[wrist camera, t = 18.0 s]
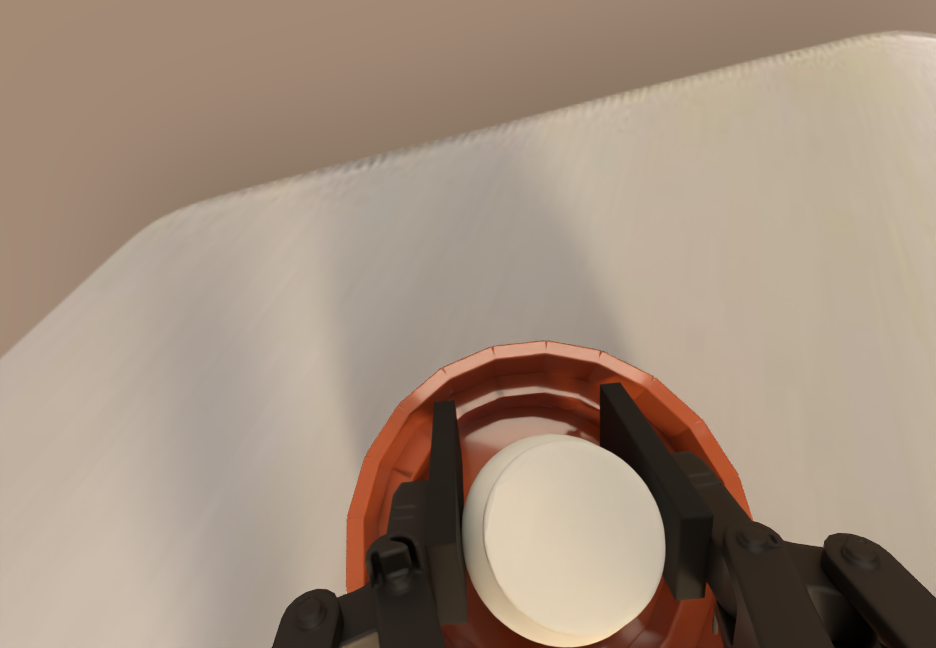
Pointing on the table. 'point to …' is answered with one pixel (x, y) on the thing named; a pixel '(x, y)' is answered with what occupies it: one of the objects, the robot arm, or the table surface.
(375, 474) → the bowl
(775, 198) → the table surface
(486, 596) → the pill bottle
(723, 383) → the table surface
